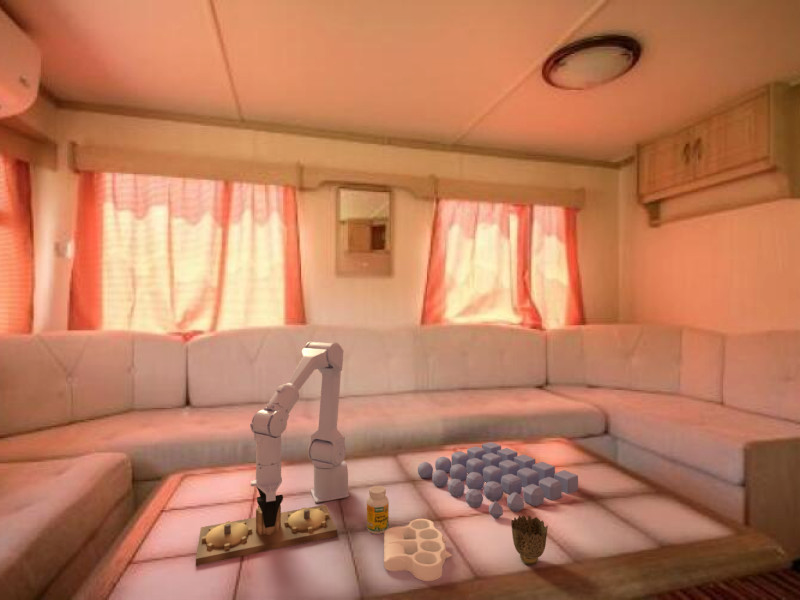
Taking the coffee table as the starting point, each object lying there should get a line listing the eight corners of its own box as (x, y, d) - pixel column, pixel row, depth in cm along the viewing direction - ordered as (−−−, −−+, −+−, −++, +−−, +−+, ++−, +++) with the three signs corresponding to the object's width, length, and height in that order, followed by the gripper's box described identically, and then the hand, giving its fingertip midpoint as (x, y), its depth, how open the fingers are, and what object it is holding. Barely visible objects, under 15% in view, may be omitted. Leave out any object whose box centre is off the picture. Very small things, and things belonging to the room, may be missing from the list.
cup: (506, 551, 91) (506, 515, 91) (538, 549, 91) (538, 513, 92) (518, 573, 83) (518, 534, 83) (553, 571, 84) (553, 532, 84)
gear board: (325, 510, 109) (325, 495, 109) (336, 535, 97) (336, 518, 97) (200, 533, 98) (200, 516, 98) (195, 566, 86) (195, 546, 86)
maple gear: (279, 520, 101) (279, 500, 101) (281, 532, 96) (281, 510, 96) (255, 524, 99) (255, 504, 99) (256, 537, 94) (256, 515, 94)
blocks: (578, 492, 121) (578, 475, 121) (496, 527, 102) (496, 507, 102) (491, 455, 150) (491, 441, 150) (414, 477, 131) (414, 461, 131)
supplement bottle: (381, 520, 104) (381, 482, 104) (392, 530, 99) (392, 490, 99) (362, 526, 101) (362, 487, 101) (373, 537, 96) (373, 496, 96)
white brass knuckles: (384, 532, 99) (444, 531, 99) (383, 584, 81) (457, 582, 81) (384, 518, 99) (444, 518, 99) (383, 567, 81) (457, 565, 81)
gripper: (249, 452, 103) (249, 507, 103) (251, 475, 89) (251, 538, 89) (279, 449, 105) (278, 502, 105) (285, 470, 92) (285, 531, 92)
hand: (268, 518), depth 97 cm, fingers open, 7 cm apart
